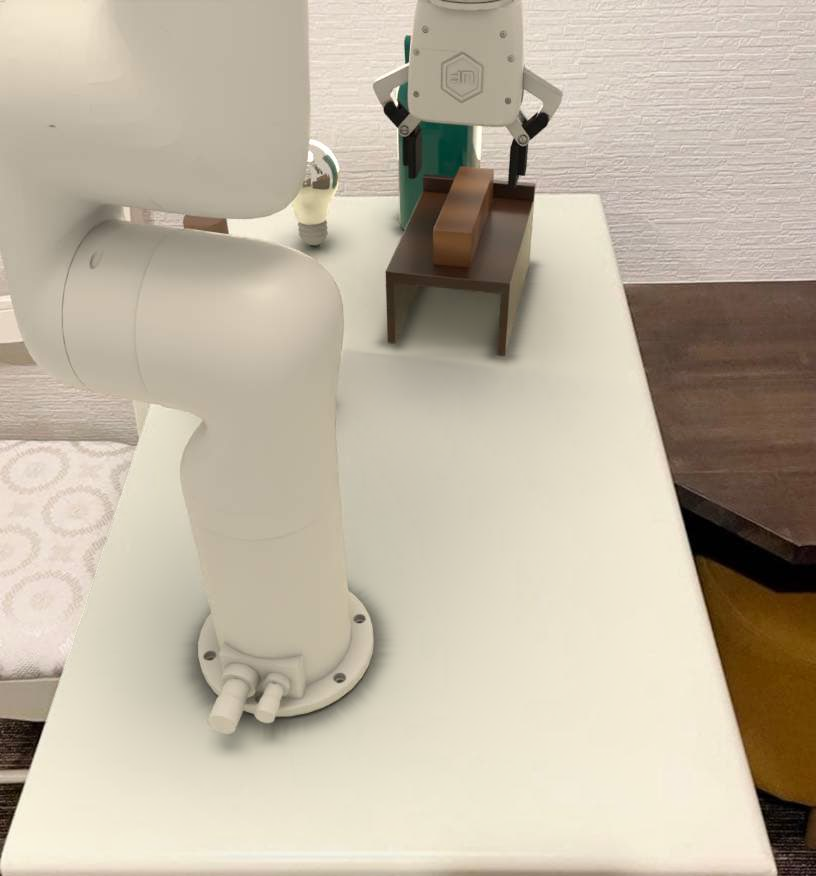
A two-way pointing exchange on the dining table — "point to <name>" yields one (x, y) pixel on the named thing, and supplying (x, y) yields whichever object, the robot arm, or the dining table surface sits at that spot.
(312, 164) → the light bulb
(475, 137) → the green glass bottle
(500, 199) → the shelf
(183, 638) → the dining table surface
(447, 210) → the brown wooden bar
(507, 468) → the dining table surface
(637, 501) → the dining table surface
